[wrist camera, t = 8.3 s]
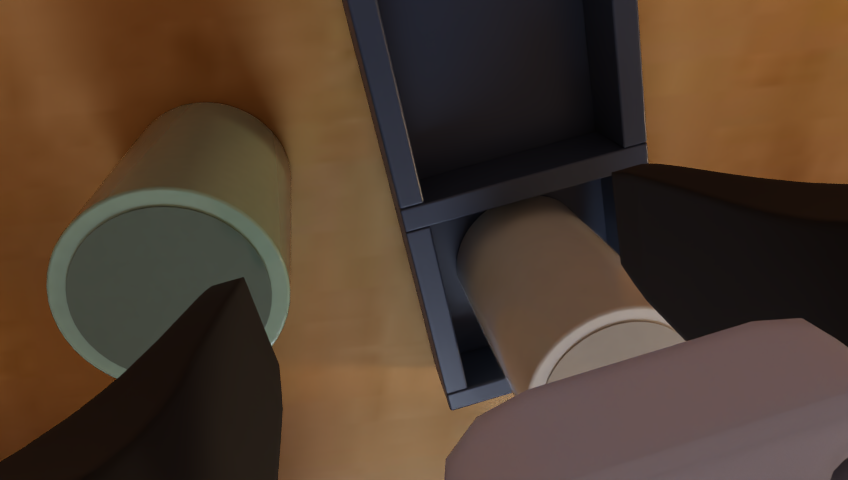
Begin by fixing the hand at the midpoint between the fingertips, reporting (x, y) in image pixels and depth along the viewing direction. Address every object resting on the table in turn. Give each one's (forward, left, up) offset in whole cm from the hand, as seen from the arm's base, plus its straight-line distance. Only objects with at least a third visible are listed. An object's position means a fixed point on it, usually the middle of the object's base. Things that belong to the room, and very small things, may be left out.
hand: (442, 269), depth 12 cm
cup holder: (-2, -4, -10) cm, 11 cm away
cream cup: (-6, -4, -10) cm, 12 cm away
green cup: (0, +6, -10) cm, 12 cm away
